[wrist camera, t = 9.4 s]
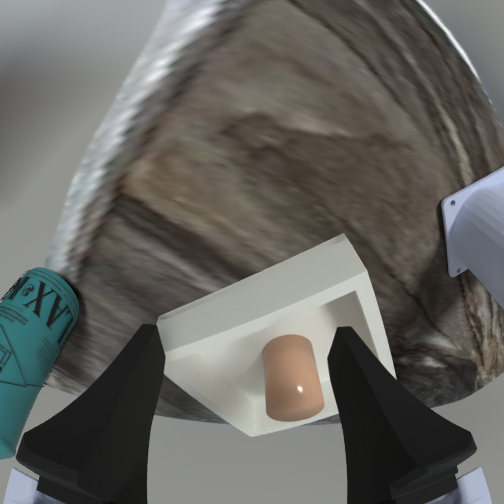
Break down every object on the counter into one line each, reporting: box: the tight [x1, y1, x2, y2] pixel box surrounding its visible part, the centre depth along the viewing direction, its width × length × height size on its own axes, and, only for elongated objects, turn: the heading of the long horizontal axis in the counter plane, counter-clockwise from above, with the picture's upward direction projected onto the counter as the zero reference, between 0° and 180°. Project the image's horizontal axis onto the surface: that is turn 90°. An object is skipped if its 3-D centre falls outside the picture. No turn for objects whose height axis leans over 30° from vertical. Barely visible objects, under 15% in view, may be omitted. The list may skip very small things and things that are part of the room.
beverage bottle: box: [0, 268, 79, 459], centre depth 13 cm, size 6×7×20 cm
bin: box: [156, 233, 397, 437], centre depth 23 cm, size 16×16×5 cm
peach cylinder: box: [263, 334, 325, 422], centre depth 22 cm, size 4×4×6 cm
